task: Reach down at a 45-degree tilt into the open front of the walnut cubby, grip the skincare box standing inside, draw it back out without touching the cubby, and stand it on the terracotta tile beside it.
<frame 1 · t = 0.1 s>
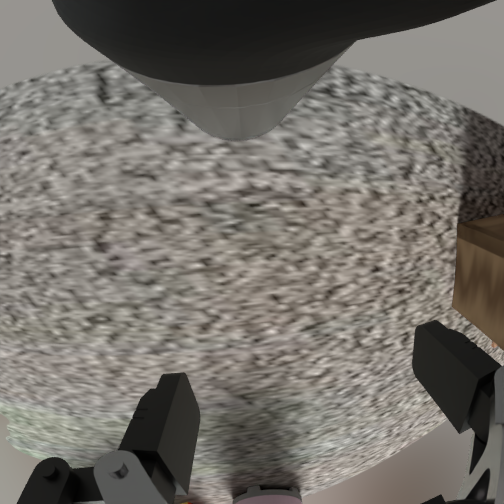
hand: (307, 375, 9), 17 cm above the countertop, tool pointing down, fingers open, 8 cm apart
blender: (268, 492, 39), on the countertop
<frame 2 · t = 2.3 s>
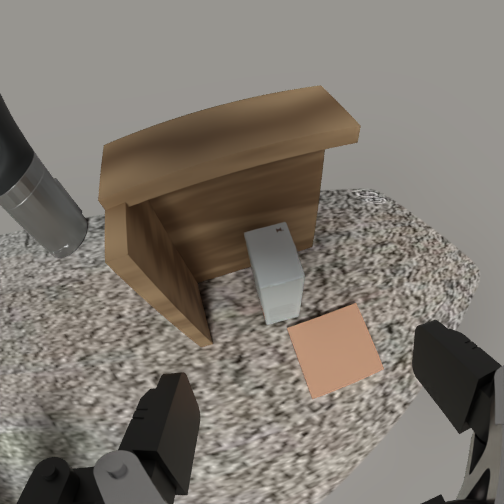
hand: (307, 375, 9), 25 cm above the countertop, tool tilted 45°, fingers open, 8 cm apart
terracotta tile: (335, 350, 32), on the countertop
walnut cubby: (265, 291, 37), on the countertop
skincare box: (276, 300, 37), on the countertop
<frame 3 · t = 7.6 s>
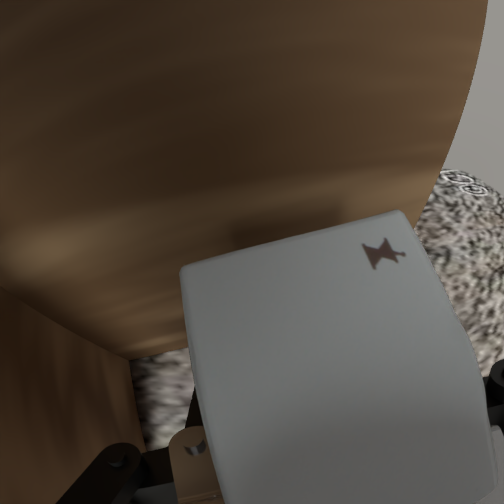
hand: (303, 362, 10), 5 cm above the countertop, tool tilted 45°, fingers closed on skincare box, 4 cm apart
walnut cubby: (278, 394, 14), on the countertop
skincare box: (305, 414, 13), on the countertop, touching gripper
when the fingers open (7 cm above the countertop, at t = 12.9 s): skincare box drops 1 cm, resting on terracotta tile.
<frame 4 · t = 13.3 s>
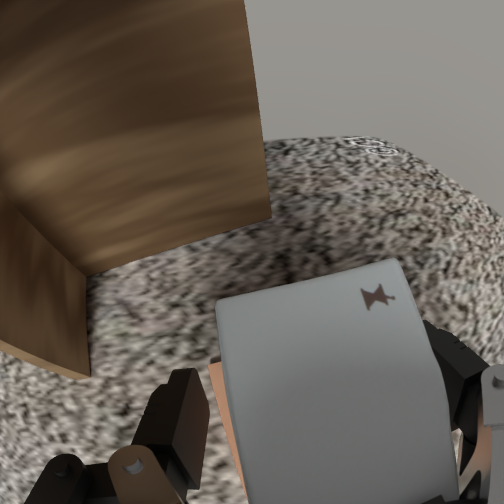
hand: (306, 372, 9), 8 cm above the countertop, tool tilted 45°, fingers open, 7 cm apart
terracotta tile: (303, 414, 15), on the countertop
walnut cubby: (179, 294, 20), on the countertop
skincare box: (307, 415, 15), resting on terracotta tile
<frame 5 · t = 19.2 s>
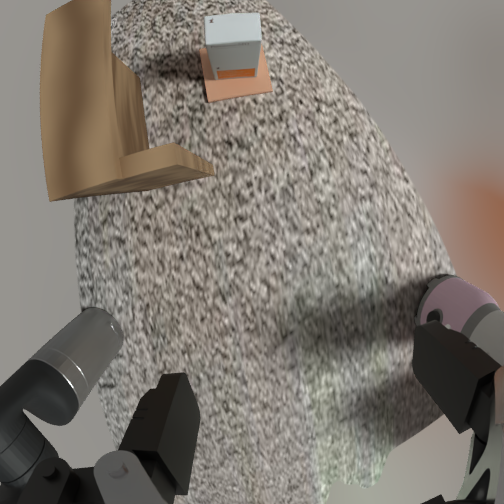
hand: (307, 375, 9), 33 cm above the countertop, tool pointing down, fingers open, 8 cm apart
terracotta tile: (235, 69, 36), on the countertop
walnut cubby: (172, 118, 38), on the countertop
blender: (433, 304, 45), on the countertop
skincare box: (235, 67, 36), resting on terracotta tile
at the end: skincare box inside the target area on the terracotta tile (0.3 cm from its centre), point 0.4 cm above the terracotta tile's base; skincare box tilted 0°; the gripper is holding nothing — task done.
